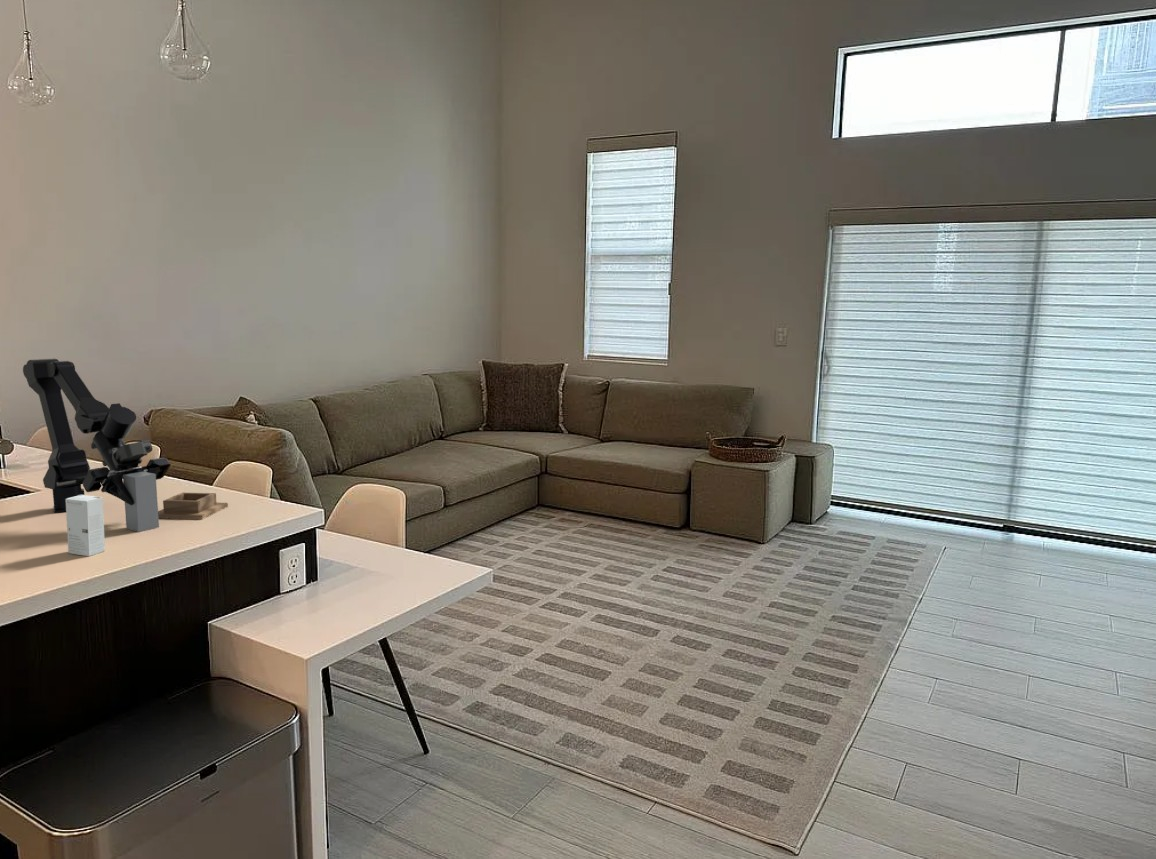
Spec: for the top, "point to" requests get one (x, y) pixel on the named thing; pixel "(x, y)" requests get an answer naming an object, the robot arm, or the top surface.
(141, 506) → the grey rectangular block
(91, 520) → the skincare box
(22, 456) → the top surface
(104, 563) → the top surface
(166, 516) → the walnut socket
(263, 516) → the top surface
